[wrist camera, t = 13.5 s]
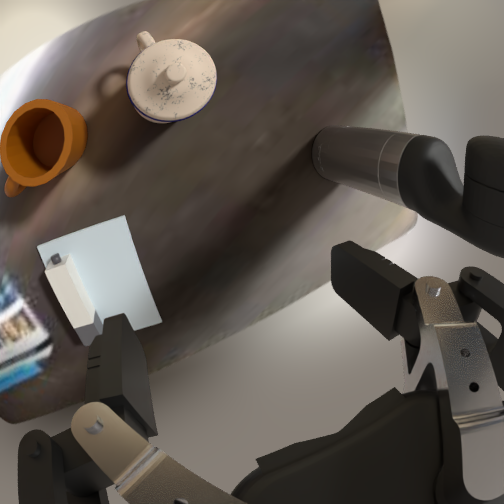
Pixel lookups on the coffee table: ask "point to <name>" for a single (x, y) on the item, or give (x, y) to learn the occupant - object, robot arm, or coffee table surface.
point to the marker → (73, 297)
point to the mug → (40, 143)
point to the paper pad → (108, 270)
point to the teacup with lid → (170, 79)
